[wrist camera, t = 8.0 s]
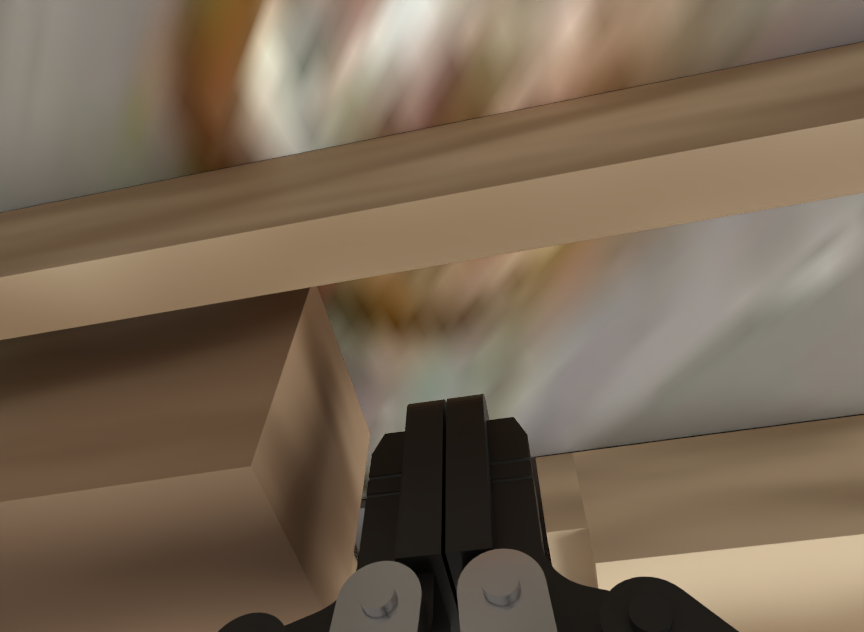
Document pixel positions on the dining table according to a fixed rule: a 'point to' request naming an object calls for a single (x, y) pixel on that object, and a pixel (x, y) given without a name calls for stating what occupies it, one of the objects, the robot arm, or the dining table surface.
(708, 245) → the dining table surface
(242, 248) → the box
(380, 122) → the dining table surface
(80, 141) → the dining table surface
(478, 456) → the robot arm
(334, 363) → the walnut block
